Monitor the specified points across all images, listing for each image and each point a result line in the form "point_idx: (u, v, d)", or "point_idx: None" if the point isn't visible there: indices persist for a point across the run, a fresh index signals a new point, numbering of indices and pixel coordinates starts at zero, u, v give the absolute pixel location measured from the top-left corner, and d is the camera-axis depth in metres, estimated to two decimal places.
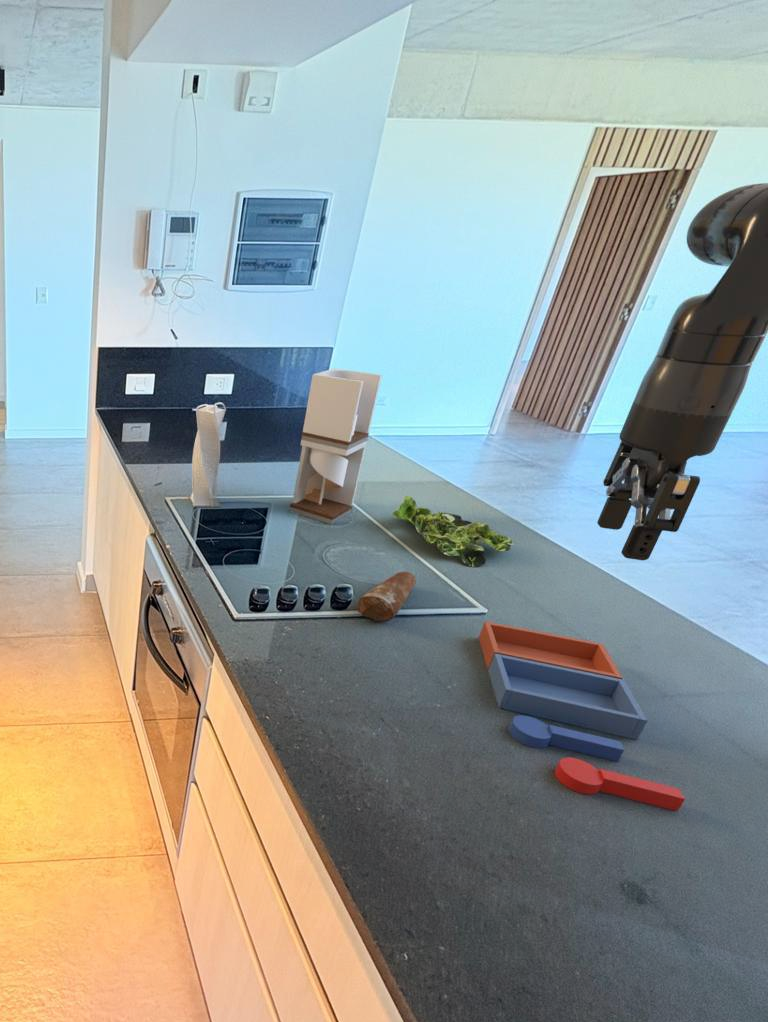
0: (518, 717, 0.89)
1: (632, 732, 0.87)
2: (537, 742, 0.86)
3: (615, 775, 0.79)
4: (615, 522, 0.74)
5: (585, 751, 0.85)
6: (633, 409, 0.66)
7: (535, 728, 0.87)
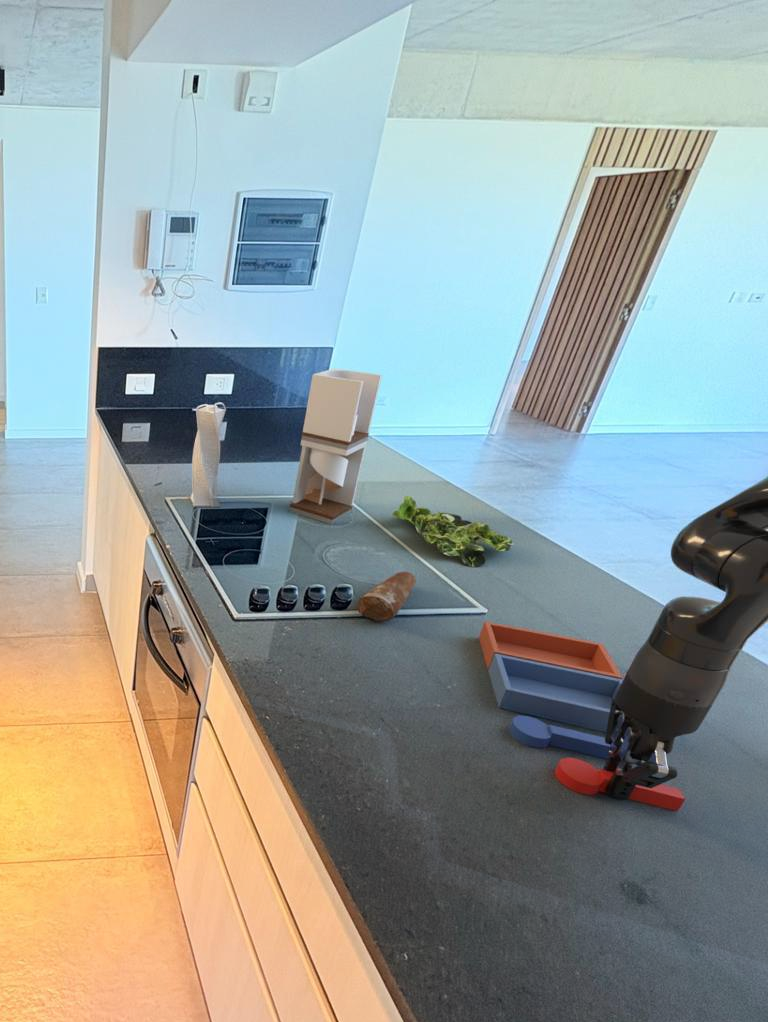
0: (518, 717, 0.89)
1: None
2: (537, 742, 0.86)
3: None
4: None
5: (585, 751, 0.85)
6: (627, 681, 0.73)
7: (535, 728, 0.87)
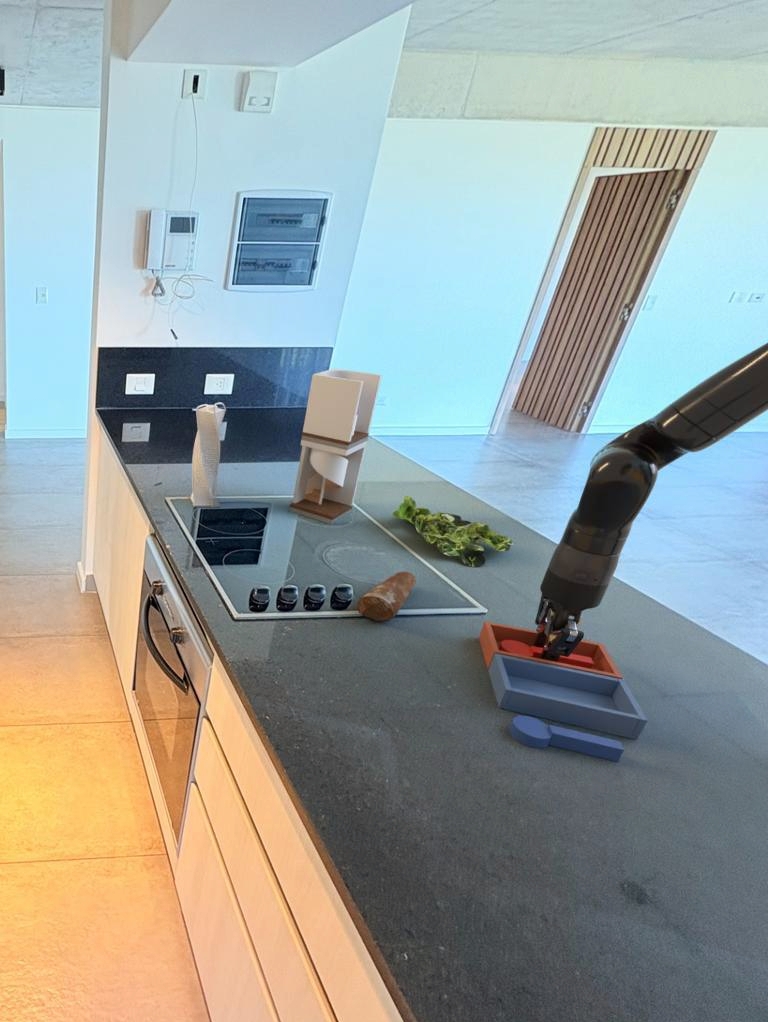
0: (518, 717, 0.89)
1: (632, 732, 0.87)
2: (537, 742, 0.86)
3: None
4: None
5: (585, 751, 0.85)
6: (547, 572, 0.96)
7: (535, 728, 0.87)
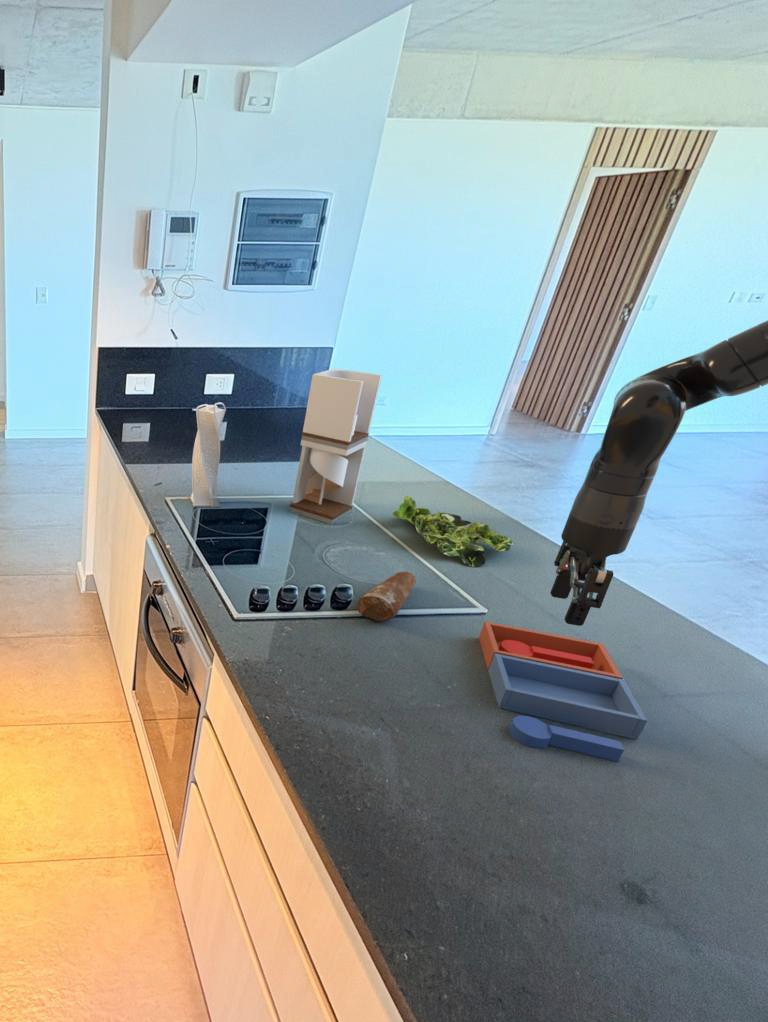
0: (518, 717, 0.89)
1: (632, 732, 0.87)
2: (537, 742, 0.86)
3: (542, 650, 1.01)
4: (563, 593, 1.00)
5: (585, 751, 0.85)
6: (569, 518, 0.92)
7: (535, 728, 0.87)
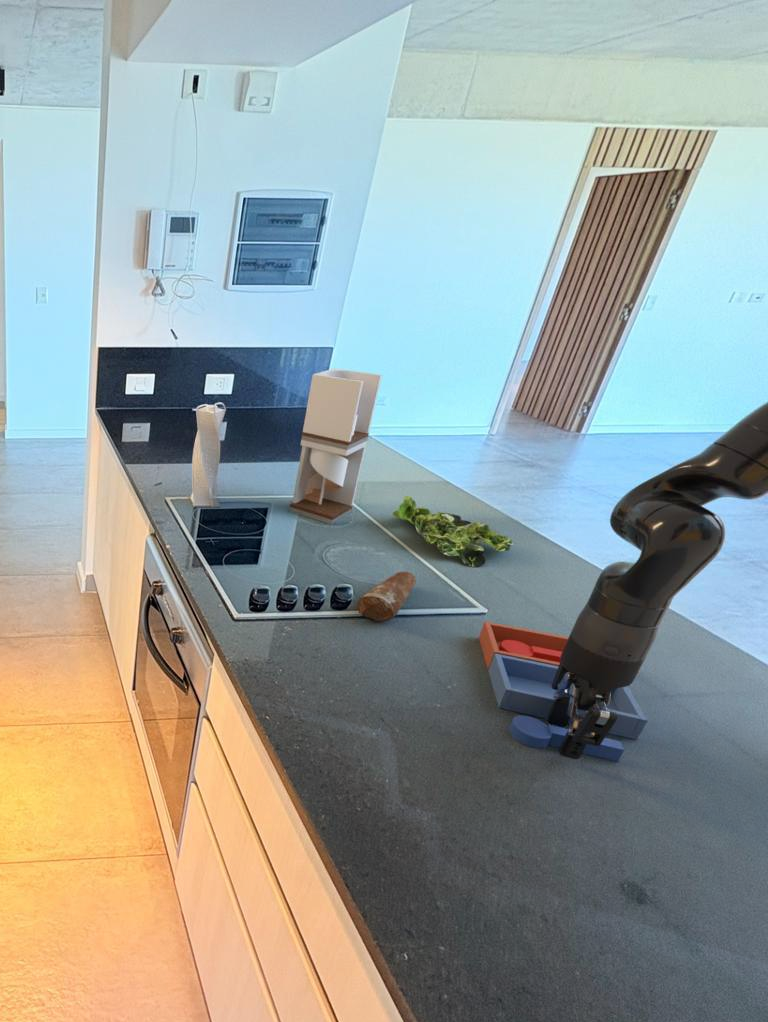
0: (518, 717, 0.89)
1: (632, 732, 0.87)
2: (537, 742, 0.86)
3: (542, 650, 1.01)
4: (561, 721, 0.88)
5: (585, 751, 0.85)
6: (570, 641, 0.81)
7: (535, 728, 0.87)
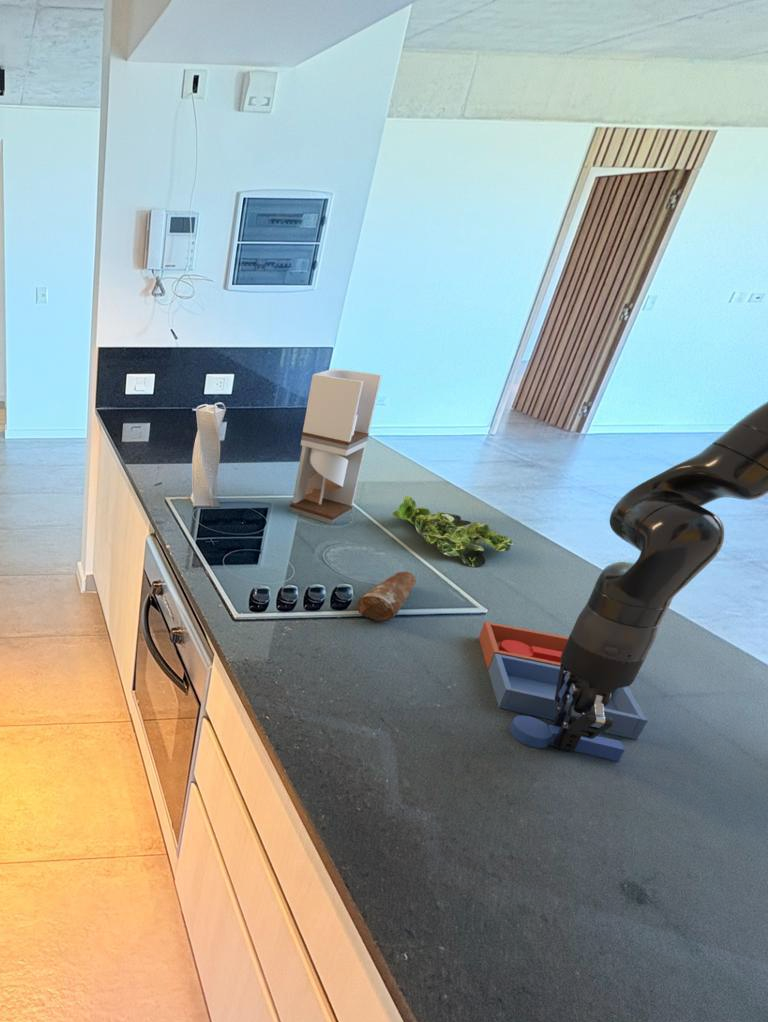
0: (519, 717, 0.89)
1: (632, 732, 0.87)
2: (538, 742, 0.86)
3: (542, 650, 1.01)
4: None
5: (586, 751, 0.85)
6: (570, 641, 0.81)
7: (536, 728, 0.87)
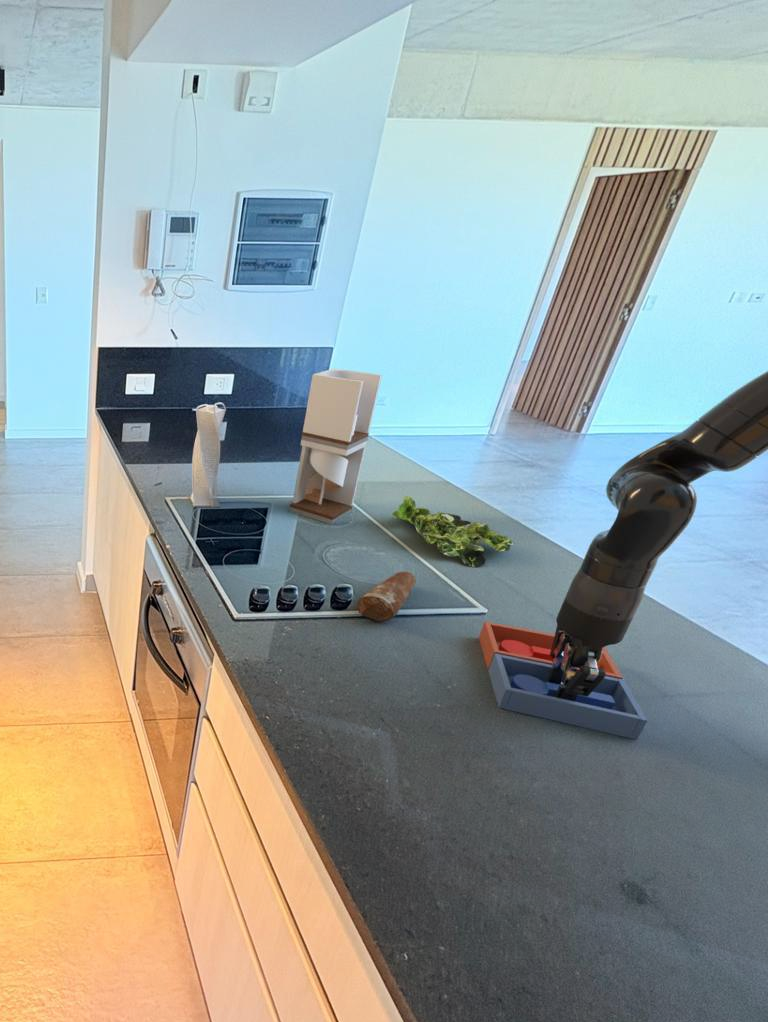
0: (518, 676, 0.96)
1: (632, 732, 0.87)
2: None
3: (542, 650, 1.01)
4: None
5: None
6: (565, 603, 0.88)
7: (534, 685, 0.94)
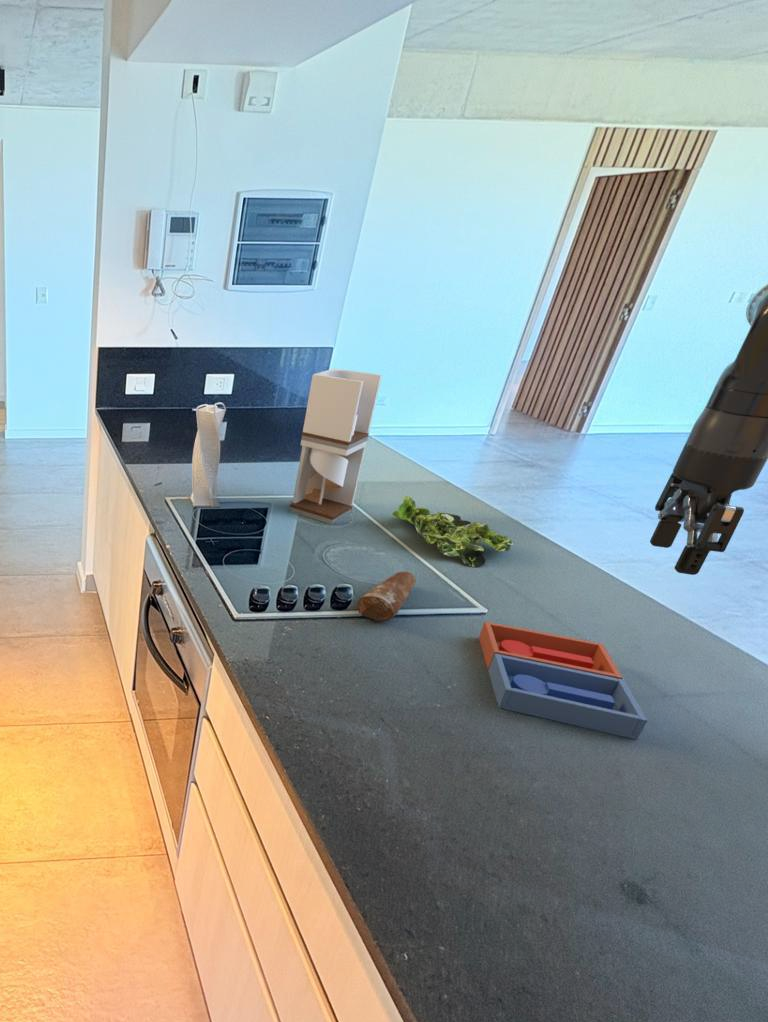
0: (518, 676, 0.96)
1: (632, 732, 0.87)
2: None
3: (542, 650, 1.01)
4: (665, 541, 0.87)
5: None
6: (686, 450, 0.79)
7: (534, 685, 0.94)
